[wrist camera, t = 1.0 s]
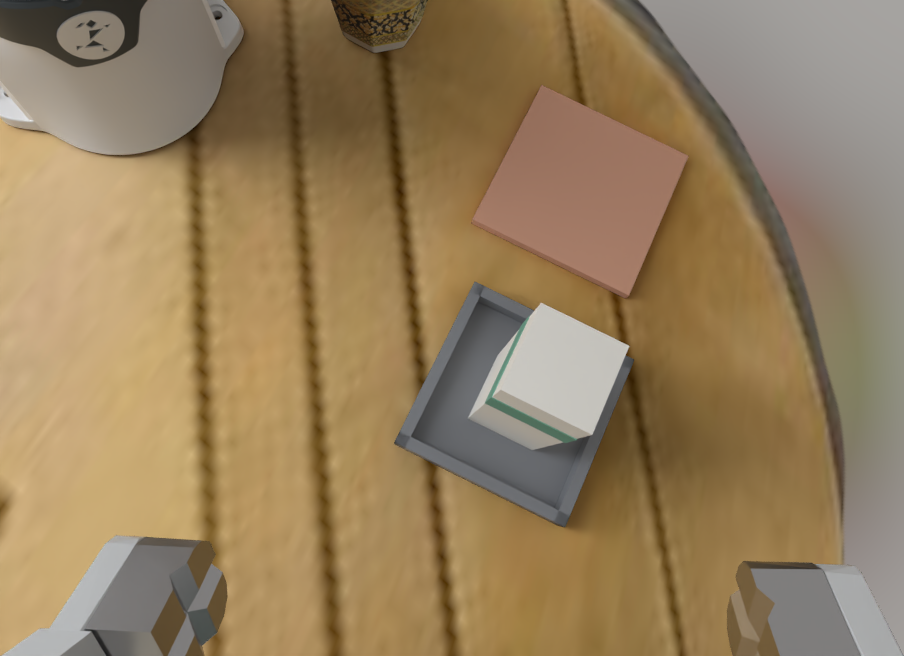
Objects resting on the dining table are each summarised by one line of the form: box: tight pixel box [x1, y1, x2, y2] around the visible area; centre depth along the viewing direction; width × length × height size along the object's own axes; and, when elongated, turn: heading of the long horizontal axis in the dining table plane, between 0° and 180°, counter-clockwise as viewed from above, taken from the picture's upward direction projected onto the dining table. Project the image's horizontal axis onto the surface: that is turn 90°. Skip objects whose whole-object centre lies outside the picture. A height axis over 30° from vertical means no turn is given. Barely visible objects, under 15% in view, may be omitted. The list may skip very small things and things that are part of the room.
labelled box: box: [468, 303, 629, 450], centre depth 40 cm, size 5×5×14 cm
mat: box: [471, 85, 688, 298], centre depth 51 cm, size 13×13×1 cm
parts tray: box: [394, 282, 634, 527], centre depth 46 cm, size 13×13×2 cm
